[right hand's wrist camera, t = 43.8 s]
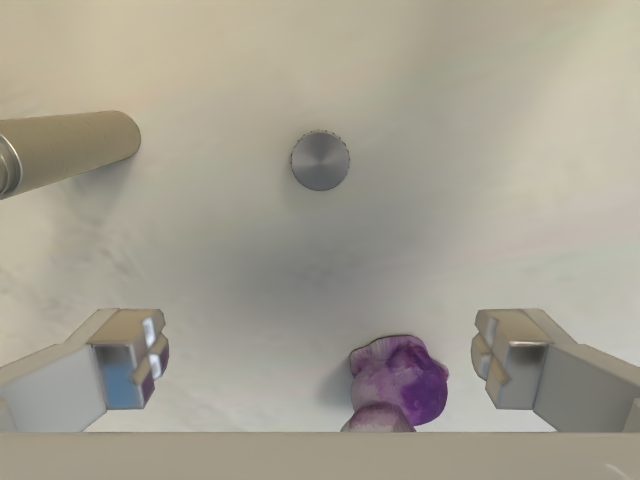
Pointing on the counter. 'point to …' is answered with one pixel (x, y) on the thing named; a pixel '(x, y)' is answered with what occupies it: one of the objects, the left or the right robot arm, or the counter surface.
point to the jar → (61, 147)
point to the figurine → (395, 386)
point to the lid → (320, 160)
